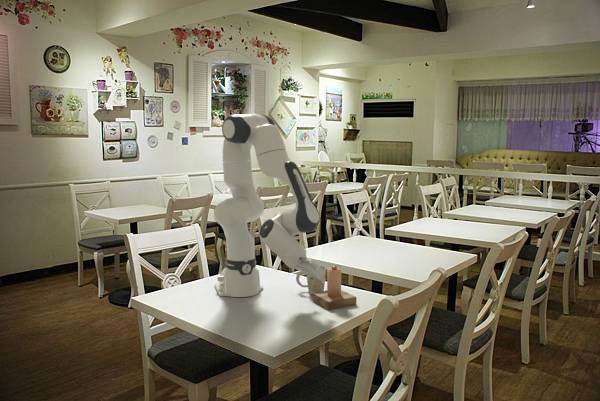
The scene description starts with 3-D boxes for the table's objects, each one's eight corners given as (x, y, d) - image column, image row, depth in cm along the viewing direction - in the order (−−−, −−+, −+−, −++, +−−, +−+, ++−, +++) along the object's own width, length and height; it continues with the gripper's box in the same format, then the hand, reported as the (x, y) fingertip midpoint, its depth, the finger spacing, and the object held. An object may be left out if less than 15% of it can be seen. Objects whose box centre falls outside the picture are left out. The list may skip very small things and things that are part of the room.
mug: (324, 295, 198) (324, 271, 197) (293, 294, 201) (293, 269, 200) (327, 289, 206) (327, 266, 205) (297, 288, 209) (297, 264, 208)
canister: (324, 294, 191) (324, 265, 189) (336, 292, 193) (336, 263, 192) (332, 298, 186) (332, 268, 185) (343, 295, 189) (343, 266, 187)
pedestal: (312, 300, 193) (312, 293, 192) (338, 295, 198) (338, 288, 198) (329, 310, 182) (329, 302, 182) (356, 304, 188) (356, 297, 187)
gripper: (314, 254, 172) (337, 278, 178) (286, 243, 189) (308, 265, 195) (302, 268, 170) (326, 292, 176) (275, 256, 188) (298, 278, 194)
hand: (317, 278), depth 186 cm, fingers open, 8 cm apart
